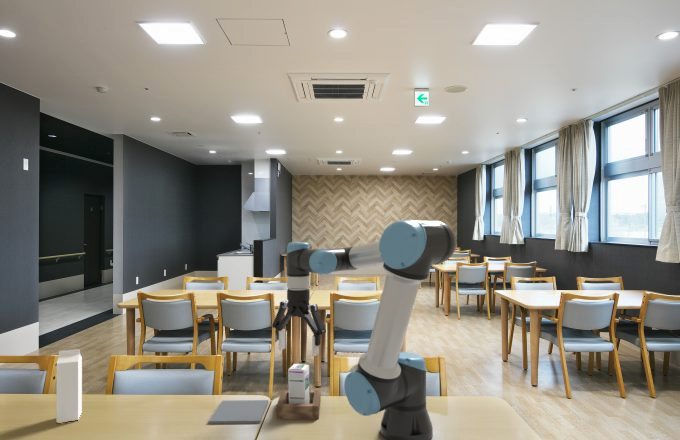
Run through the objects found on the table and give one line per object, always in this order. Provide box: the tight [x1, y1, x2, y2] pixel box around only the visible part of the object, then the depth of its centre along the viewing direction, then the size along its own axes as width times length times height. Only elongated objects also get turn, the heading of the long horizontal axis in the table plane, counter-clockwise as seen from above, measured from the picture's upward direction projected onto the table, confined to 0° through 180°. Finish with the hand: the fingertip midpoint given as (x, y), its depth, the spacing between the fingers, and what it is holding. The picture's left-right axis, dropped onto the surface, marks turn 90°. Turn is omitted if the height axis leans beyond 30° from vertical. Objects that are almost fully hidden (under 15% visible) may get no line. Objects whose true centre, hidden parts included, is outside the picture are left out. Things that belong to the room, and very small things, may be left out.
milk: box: [55, 348, 83, 422], centre depth 140 cm, size 6×6×22 cm
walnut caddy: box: [275, 389, 322, 420], centre depth 145 cm, size 14×14×4 cm
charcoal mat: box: [208, 399, 269, 425], centre depth 143 cm, size 16×16×1 cm
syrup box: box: [287, 363, 311, 404], centre depth 145 cm, size 6×6×14 cm
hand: (298, 352), depth 145 cm, fingers open, 13 cm apart
